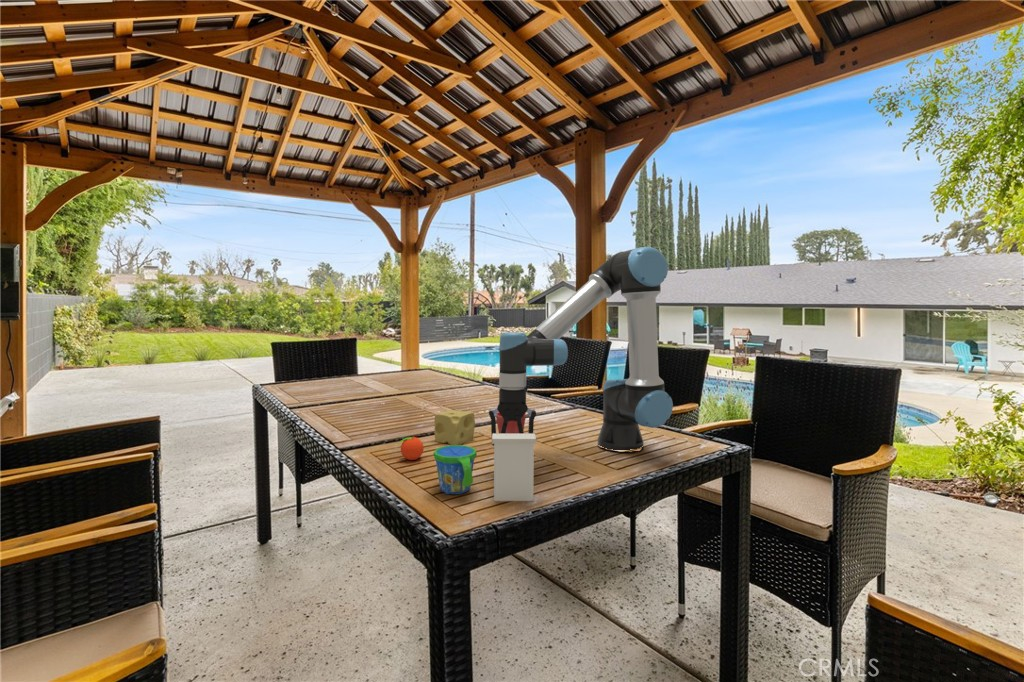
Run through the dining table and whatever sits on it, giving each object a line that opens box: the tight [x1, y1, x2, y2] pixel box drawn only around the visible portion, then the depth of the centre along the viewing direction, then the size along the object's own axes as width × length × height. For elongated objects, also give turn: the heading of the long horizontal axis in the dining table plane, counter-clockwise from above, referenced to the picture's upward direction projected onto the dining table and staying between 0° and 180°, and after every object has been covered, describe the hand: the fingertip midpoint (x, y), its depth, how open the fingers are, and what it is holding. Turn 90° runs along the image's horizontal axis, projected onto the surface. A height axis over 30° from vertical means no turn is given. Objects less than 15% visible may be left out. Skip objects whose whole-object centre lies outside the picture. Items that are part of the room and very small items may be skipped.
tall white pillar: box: [491, 433, 537, 502], centre depth 117 cm, size 10×12×15 cm
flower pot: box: [495, 412, 527, 434], centre depth 165 cm, size 11×11×10 cm
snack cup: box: [433, 444, 478, 495], centre depth 118 cm, size 16×10×10 cm
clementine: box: [398, 436, 425, 461], centre depth 143 cm, size 8×7×7 cm
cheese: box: [434, 409, 476, 446], centre depth 165 cm, size 10×11×10 cm
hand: (511, 469), depth 132 cm, fingers closed on rail, 4 cm apart
